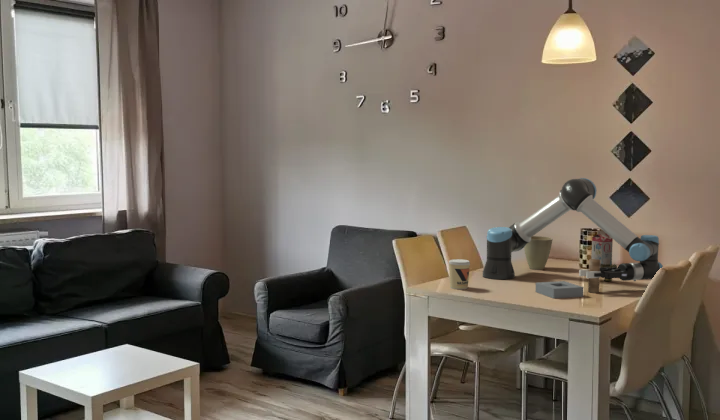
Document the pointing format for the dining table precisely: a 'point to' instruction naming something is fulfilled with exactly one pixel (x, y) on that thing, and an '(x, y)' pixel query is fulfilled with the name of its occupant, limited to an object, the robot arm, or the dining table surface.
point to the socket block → (559, 289)
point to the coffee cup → (459, 273)
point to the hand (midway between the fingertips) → (583, 274)
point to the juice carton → (602, 247)
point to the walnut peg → (593, 282)
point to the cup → (609, 267)
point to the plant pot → (538, 251)
